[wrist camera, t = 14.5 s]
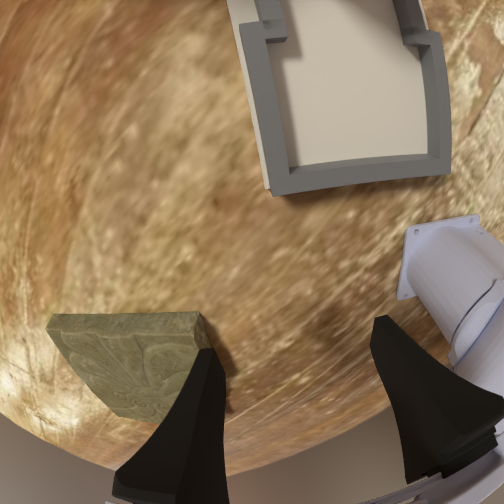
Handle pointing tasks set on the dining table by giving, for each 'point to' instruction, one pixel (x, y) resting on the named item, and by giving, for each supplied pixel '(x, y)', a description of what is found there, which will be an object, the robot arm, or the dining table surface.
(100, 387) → the olive stone flat slab
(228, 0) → the grey flat framed piece
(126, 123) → the dining table surface
